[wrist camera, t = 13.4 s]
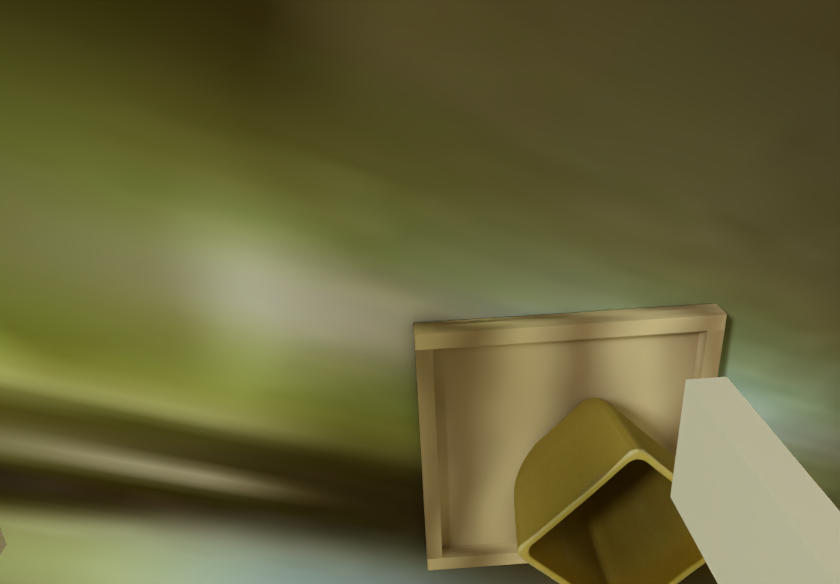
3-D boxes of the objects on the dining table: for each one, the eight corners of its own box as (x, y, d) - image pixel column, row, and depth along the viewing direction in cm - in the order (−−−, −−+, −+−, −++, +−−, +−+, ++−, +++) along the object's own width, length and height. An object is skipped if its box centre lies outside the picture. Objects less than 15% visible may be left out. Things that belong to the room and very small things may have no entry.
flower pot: (590, 355, 43) (639, 447, 35) (682, 432, 46) (748, 534, 38) (489, 448, 45) (513, 554, 37) (582, 515, 48) (623, 628, 40)
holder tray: (426, 553, 50) (428, 570, 48) (413, 322, 42) (414, 334, 41) (683, 534, 50) (691, 550, 49) (715, 303, 42) (726, 314, 41)
